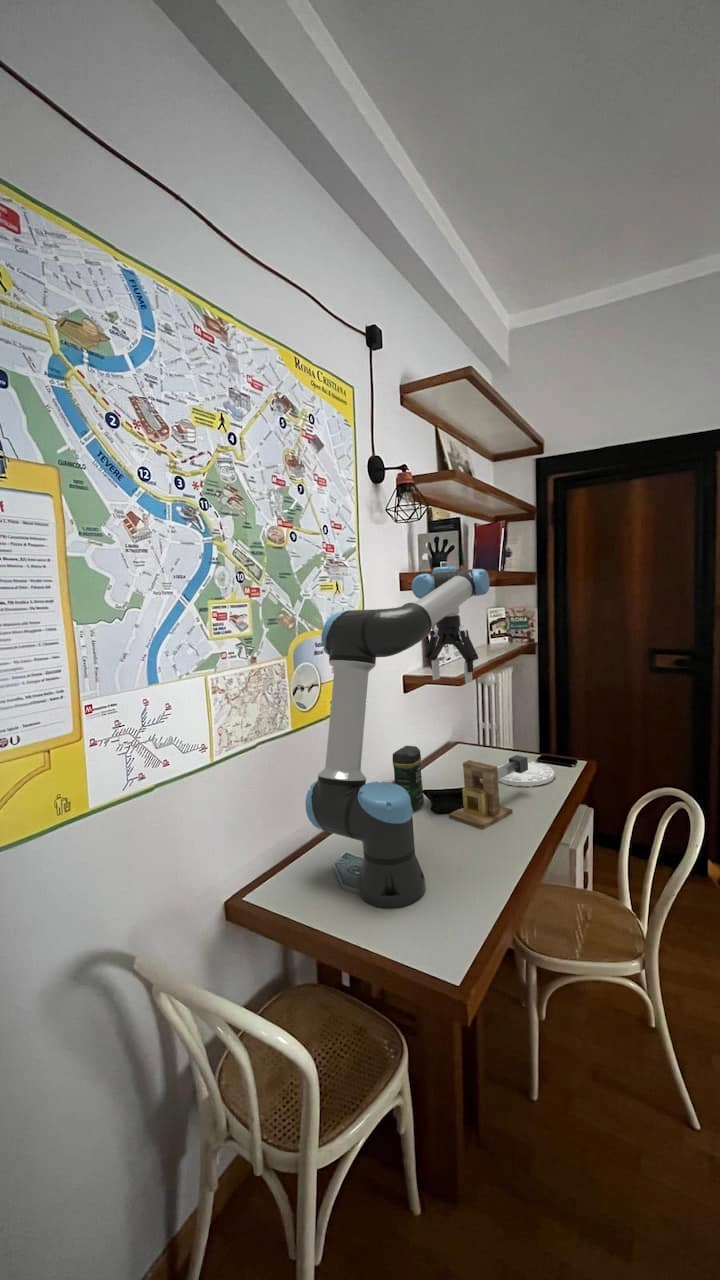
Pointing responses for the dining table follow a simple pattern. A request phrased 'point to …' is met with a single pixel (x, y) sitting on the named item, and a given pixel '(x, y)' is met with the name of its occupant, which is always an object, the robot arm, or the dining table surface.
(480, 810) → the spacer
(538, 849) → the dining table surface
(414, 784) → the coffee jar
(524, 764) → the shaft
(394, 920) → the dining table surface
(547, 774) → the giant coin
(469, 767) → the bracket
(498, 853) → the dining table surface
